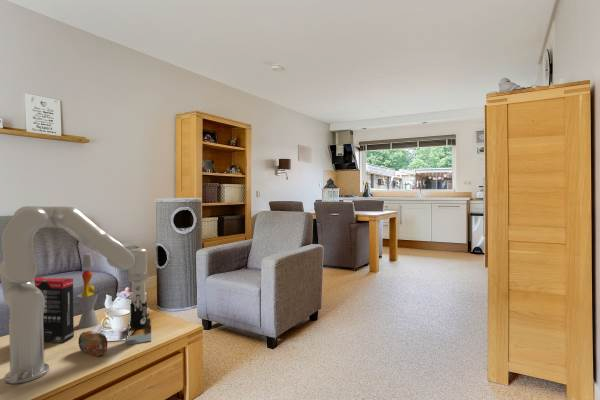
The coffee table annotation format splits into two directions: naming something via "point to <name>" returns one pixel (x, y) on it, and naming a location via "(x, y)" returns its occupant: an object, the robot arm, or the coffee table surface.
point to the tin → (93, 343)
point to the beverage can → (143, 322)
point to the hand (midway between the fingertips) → (138, 316)
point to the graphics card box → (57, 308)
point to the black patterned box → (146, 325)
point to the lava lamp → (87, 296)
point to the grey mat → (138, 339)
